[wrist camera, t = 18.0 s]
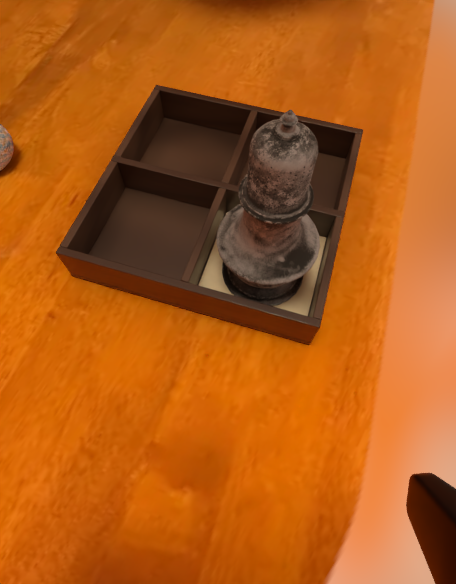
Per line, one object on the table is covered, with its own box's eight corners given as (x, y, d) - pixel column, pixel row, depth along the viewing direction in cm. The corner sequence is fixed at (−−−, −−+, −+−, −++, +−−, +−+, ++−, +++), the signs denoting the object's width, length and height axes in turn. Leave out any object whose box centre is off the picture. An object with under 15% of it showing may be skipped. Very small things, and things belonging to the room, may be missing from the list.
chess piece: (225, 226, 27) (226, 53, 16) (311, 239, 27) (370, 70, 16) (209, 303, 24) (197, 157, 14) (304, 318, 24) (368, 180, 13)
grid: (309, 345, 24) (319, 327, 21) (72, 276, 26) (55, 252, 23) (351, 159, 31) (363, 129, 28) (161, 116, 33) (156, 84, 30)
